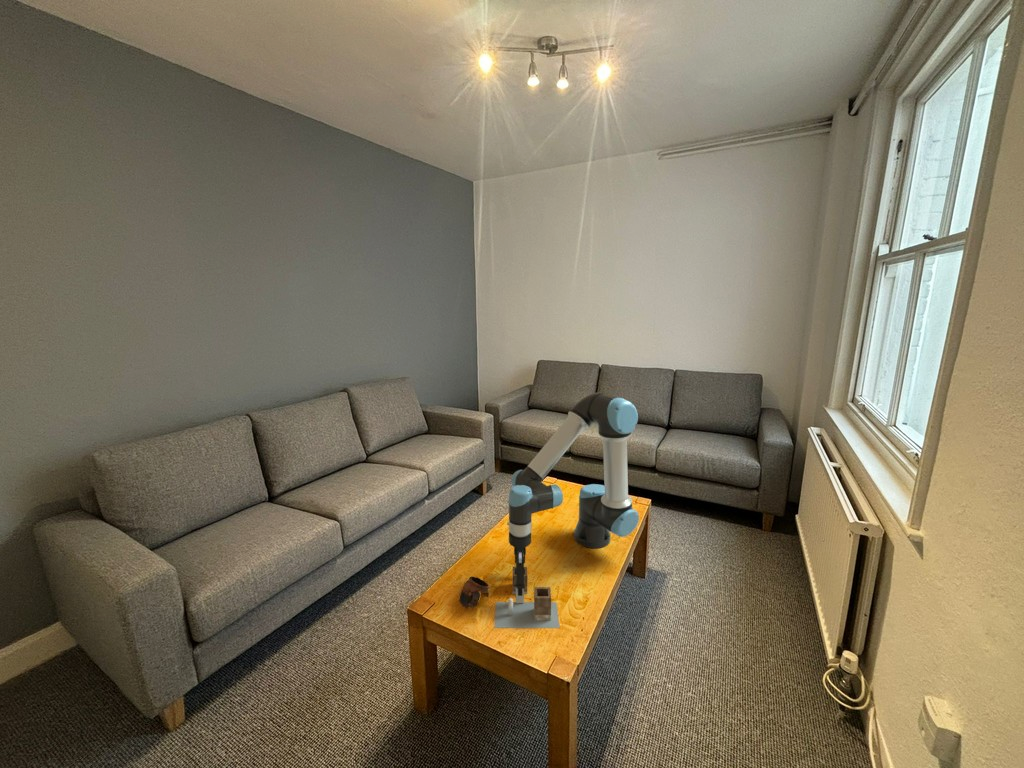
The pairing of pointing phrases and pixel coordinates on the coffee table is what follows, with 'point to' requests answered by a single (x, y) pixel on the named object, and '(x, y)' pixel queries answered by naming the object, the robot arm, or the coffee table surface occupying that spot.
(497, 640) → the coffee table surface
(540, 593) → the sleeve seated
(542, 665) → the coffee table surface
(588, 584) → the coffee table surface
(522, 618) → the pin board
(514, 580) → the sleeve loose
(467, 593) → the pottery mug
